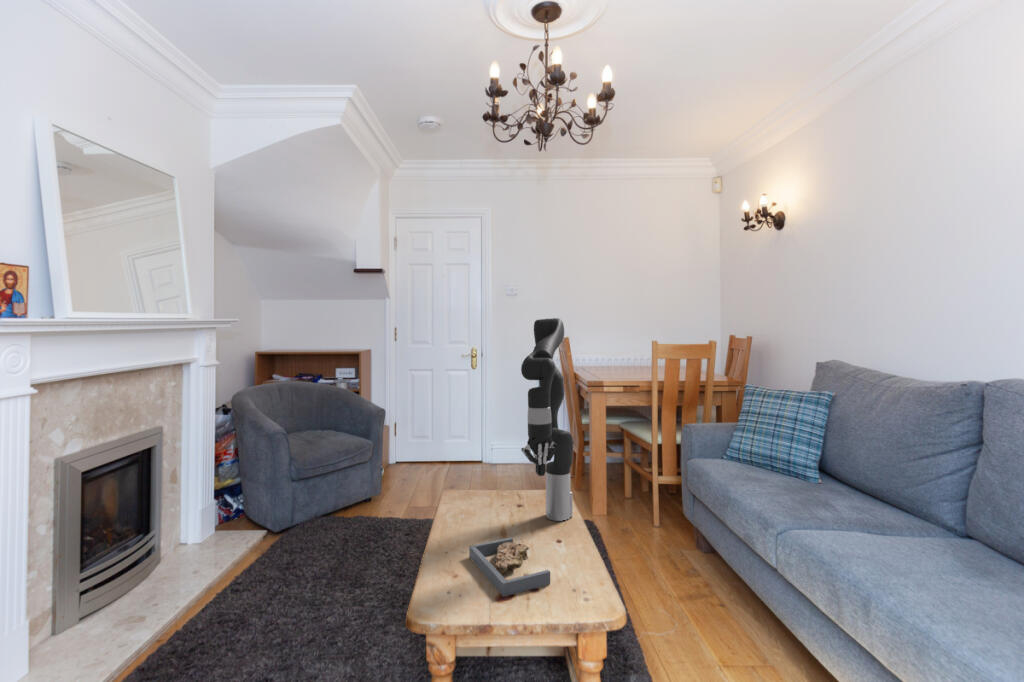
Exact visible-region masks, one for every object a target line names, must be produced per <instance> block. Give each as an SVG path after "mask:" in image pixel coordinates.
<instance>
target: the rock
mask: <svg viewBox="0 0 1024 682" xmlns="http://www.w3.org/2000/svg"><path fill="white" fill-rule="evenodd" d="M529 549H530V547H529V546H528V545H526V544H525V543H514V542H513V543H508V542H507V543H503V544H502V545H499V546H498V548H497V553H496V557H495V559H494V560H495V566H494V567H495V569H496V570H497V571H498V572H499V573H500V574H501V575H502V576H503V575H504V573H505V572H506V571H508V569H510V570H515V569H517V568H518V569H519V568H520V567H522V565H523V563H524V562H523V561H524V560H528V559H529V556H528V552H527V551H529Z"/></svg>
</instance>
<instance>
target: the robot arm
mask: <svg viewBox="0 0 1024 682" xmlns="http://www.w3.org/2000/svg"><path fill="white" fill-rule="evenodd" d="M533 336H534V337H533V338H534V343H535V346H534V347H533V351H532V352H531V353H529V355H527V356H526V357H525V358H524V360H523V362H522V363H521V367H520V372H521V375H522V377H523V378H524V379H526V380H527V381H538V385H539V386H536V387H532V388H529V389H528V391H527V436H528V440H527V442H526V444H527V445H526V446H524V447H521V449H520V450H521V452H522V453H523V454H524V456H525V457H526V458H527V459H528V461H529V462H530V463H533V464H534V465H535V473H536V475H537V476H539V477H544V476H545V518H546V519H548V520H550V521H552V522H553V521H555V522H564V521H563V520H565V521H568V520H569V519H570V517H571V518H573V492H572V491H571V469H572V464H573V459H574V458H573V457H574V438H573V436H572V434H571V433H570V432H569V431H568V430H564V429H560V428H559V426H558V425H559V424H558V413H559V410H560V408H561V406H562V403H563V401H564V398H565V384H564V376H563V374H562V373H561V371H560V370H559V368H558V367H557V366H556V363H555V361H554V360H553V359H554V355H555V353H556V351H557V349H558V348H559V347H560V345H561V344H562V342H563V340H564V337H565V326H564V323H563V320H562V319H560V318H559V317H558V318H556V317H553V318H542V319H536V320H535V321H534V323H533ZM531 452H532V453H531ZM552 459H553V461H551V460H552ZM567 519H568V520H567Z"/></svg>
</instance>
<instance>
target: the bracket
mask: <svg viewBox="0 0 1024 682" xmlns="http://www.w3.org/2000/svg"><path fill="white" fill-rule="evenodd" d="M507 542H508V543H513V544H514V539H513V537H507V538H502V539H498V540H493V541H489V542H488V541H487V542H482V543H479V544H474V545H473V544H472V545H469V546H468V547H469V549H468V550H469V551H468V552H469V559H470V558H471V559H472V560H473V561H472V560H471V559H470V560H471V561H472V562H473V563H474V564H475V566H476V565H477V566H476V567H477V568H478V570H480V572H481V573H482V574H483V575H484V576H485V577H486V578H487V580H488V581H489V582H490V583H491V584H492V586H493V587H494V588H495V589H496V591H498V593H499V594H500V595H501V596H502V597H507V596H508V597H509V596H511V595H515V594H520V593H523V592H526V591H530V590H534V589H537V588H541V587H545V586H549V585H551V571H550V570H549V569H546V570H541V571H538V572H534V573H530V574H525V575H523V576H517V577H514V578H511V579H506V578H505V577H504V576H503V575H501V574H500V573H499V572H498V571H497V570H496V566H494V565H493V564H492V563H491V562H490V561H489V560H488V559H487V557H486V556H490V555H494V554H497V548H498V546H499V545H502V544H503V543H507Z"/></svg>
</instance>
